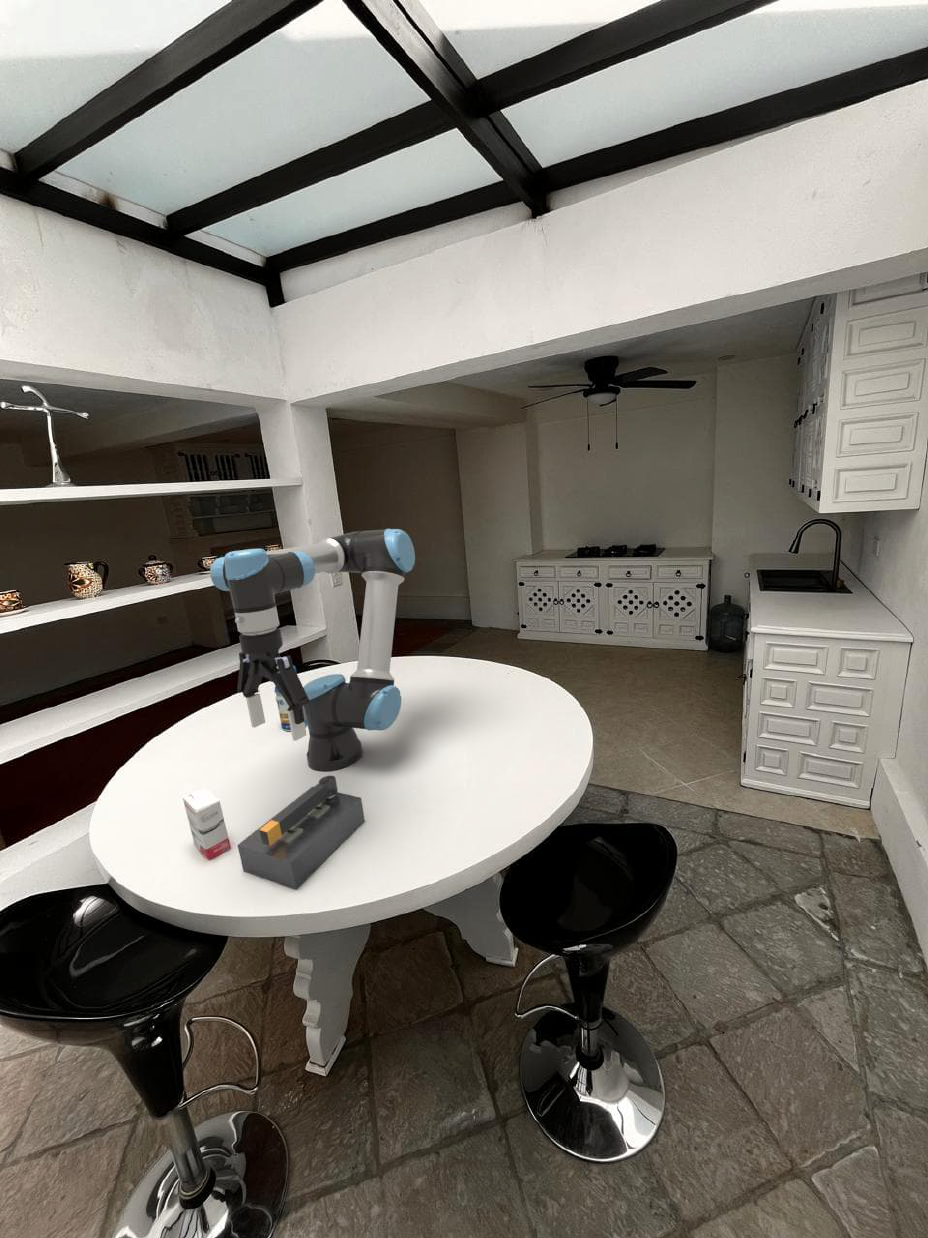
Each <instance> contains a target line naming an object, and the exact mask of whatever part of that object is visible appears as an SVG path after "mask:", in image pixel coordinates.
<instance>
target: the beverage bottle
mask: <svg viewBox="0 0 928 1238" xmlns="http://www.w3.org/2000/svg"><path fill="white" fill-rule="evenodd" d="M293 667H294V669H295V671H296V673H298V672H297V668H296V666H295V665H293ZM278 673H280V672H278ZM274 686H275V685H274ZM274 694H275V695H276V696H275V701H276V705H277V710H278V714H279V718H280V726H281V729H282V730H283V731H285V732H291V727H290V722H289V717H288V711H287V709H288V708H289V705H288V704H287V702H286V701H285V699H284V698H283V696H282V695H281V693H280V692H279V690H278V689H277V687H276V686H275V687H274ZM303 713H304V719H305V721H304V723H305V727H306V726H308V724H307V719H306V714H305V709H304V706H303Z"/></svg>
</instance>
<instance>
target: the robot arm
mask: <svg viewBox="0 0 928 1238" xmlns="http://www.w3.org/2000/svg"><path fill="white" fill-rule="evenodd" d="M415 554H416V553H415V548H414V545H413V541H412V539H411V538H410V536H409V534H408V533H407V532H406V531H404V530H402V529H399V528H386V529H374V530H362V531H361V530H360V531H352V532H347V533H344V534H341V535H337V536H332V537H326V538H323V539H321V540H320V541H318V542H317V543H315V544H314V543H312V544H307V545H306V544H305V545H300V546H295V547H287V548H282V549H275V550H268V551H266V549H263V548H248V549H243V550H233V551H229V552H227V553H226V554H225V556H221V557H218V558H217V559H215V560H214V561H213V562H212V564H211V565H210V570H209V574H210V580H211V583H212V584H213V586H214V587H216V588H217V589H218V590H221V591H225V592H229V593H230V599H231V604H232V607H233V612H234V617H235V619H234V622H235V623H236V627H237V632H239V633H240V634H239V636H238V639H239V643H240V650H241V651H240V652H239V653H238V658H239V667H238V668H239V671H238V678H237V686H236V687H237V689H236V690H237V692H238V693H239V694H242V695H243V697H244V698H245V699H246V704H247V710H248V714H249V718H250V723H251V727H252V728H253V729H254V728H257V727H259V726H261V725H263V724H265V723H266V718H265V712H264V708H263V704H262V699H261V694H260V689H259V687H260V684H261V682H262V680H263V677H264V678H265V679H268V681H269V682H270V683H273V684H274V686H276V687H277V689H278V690H279V692H280V693H281V695H282V696H283V698H284V699H285V701H286V702H287V704H288V705H289V708H288V709H287V711H288V717H289V722H290V727H291V731H290V733H291V736H292V737H291V738H292V741H294V742H296V741H299V740H300V739H302V738H304V737H306V736H307V735H308V734H307V730H306V726H305V723H304V721H305V719H304V713H303V706H304V709H305V714H306V719H307V729H308V733H309V735H308V736H309V739H308V740H309V741H308V745H307V752H306V760H307V765H308V767H309V768H310V769H312V770H314V771H318V772H330V771H335V770H339V769H343V768H346V767H348V766H350V765H352V764H354V763H356V762H357V761H359V760H360V759H361V757H362V756H363V752H364V751H363V745H362V744H363V743H362V742H361V740H360V739H359V737H358V734H357V733H356V731H355V729H360V730H361V729H362V730H367V731H385V730H387V729H388V728H391V726H393V724H394V723H395V722H396V720H397V718H398V716H399V714H400V710H401V708H402V695H401V691H400V689H399V688H398V687H397V686H395V678H394V677H393V676H392V674H391V672H390V671H391V662H392V660H391V659H392V651H393V640H394V632H395V631H394V629H395V621H396V611H397V603H398V602H397V601H398V592H399V585H401V584H402V583H404V581H405V575H406V573H409V572H411V571H412V570H413V568H414V567H415V561H416V555H415ZM320 573H326V574H337V573H355V574H357V573H358V574H360V573H361V577H362V578H363V579H364V580H365V583H366V586H365V592H364V593H365V595H364V602H363V611H362V612H363V613H362V618H361V619H362V620H361V621H362V622H361V628H360V638H359V648H358V657H357V666H356V670H355V671H354V672H353V673H352V674H350V676H349V682H346V681H347V679H346V677H345V676H344V675H343V674H341V673H335V674H329V675H328V674H327V675H324V676H321V677H318V678H315V679H313V680H311V681H309V682H307V683H306V684H305V685H304V686H303V684H302V682H301V680H300V678H299V676H298V674H297V673H298V672H297V670H296V671H295V669H294V667H293V666H294V664H293V660H292V656H291V655H286V656H283V657H281V654H280V652H279V650H280V649H281V648H282V647H283V645H284V643H283V637H282V633H281V629H280V628H279V626H280V619H279V616H278V615H279V614H278V609H277V605H276V604H277V603H276V599H275V595H277V594H281V593H284V592H288V591H291V590H295V589H301V588H303V587H305V586H307V585H309V584H310V583H311V582H312V581H313V580H314V578H315V576H316V574H320ZM278 672H280V673H278ZM296 672H297V673H296Z"/></svg>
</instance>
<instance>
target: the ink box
mask: <svg viewBox="0 0 928 1238" xmlns="http://www.w3.org/2000/svg"><path fill="white" fill-rule="evenodd" d="M182 800H183V804H184V808H185V812H186V816H187V821H188V825H189V828H190V833H191V837H192V840H193V844H194V846H195V847H196V848H197V849H198V850H199V851H200V852H201V854H202V855H203V856H204V857H205V858H206V859H207V860H208V861H210V860H212V859H214V858H216V857H217V856H220V855H222V854H224V853H225V852H226V851H229V850H230V849H231V848H232V847H231V842H230V838H229V834H228V830H227V826H226V822H225V817H224V815H223V810H222V809H223V808H222V805H221V801H220V799H219V798H218V797H217V796H215V795H214V794H213V793H212V792H211V791H210V790H209V789H208V788H206V787H204V788H202V789H199V790H195V791H193V792H191V793H189V794H186V795H185V796H183V797H182Z"/></svg>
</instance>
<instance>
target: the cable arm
mask: <svg viewBox="0 0 928 1238" xmlns="http://www.w3.org/2000/svg"><path fill="white" fill-rule="evenodd" d="M337 783H338V782H337V779H336V776H335V775H326V776H324V777H321V778H320V779H319V781H318V782H317V784H315V786H313V788H312V789H311V790H310V791H308V792H307V793H306V794H304V795H303V796H302V797H301V798H299V799H298V800H297V801H296V802H294V803H293V804H292V805H290V806H289V807H288V808H287V809H285V810H284V811H283V812H282V813H280V814H279V815H278V816H276V817H275V818H274V819H273V820H271V821H270V822H268V821H267V822H268V823H267V824H266V825H264V824H263V825H264V826H263V825H262V826H263V827H262V828H261V829H259V828H258V829H259V832H260V836H261V841H262V844H264V845H268V846H271V845H272V844H273V843H275V842H276V841H277V840H278V839H279V838H281V837H282V835H284V834H285V833H286V832H287V831H288V830H289V829H291V828H292V827H293V826H294V825H295V824H297V823H298V822H299V821H300V820H301V819H303V818H304V817H305V816H306V815H307V814H309V813H310V812H311V811H312V810H313V809H314V808H316V807H317V806H318V805H319V804H320V803H322V802H323V801H324V800H325V799H326V798H328V797H330V796H333V795H335V794H336V793H337V792H338V784H337Z"/></svg>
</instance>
